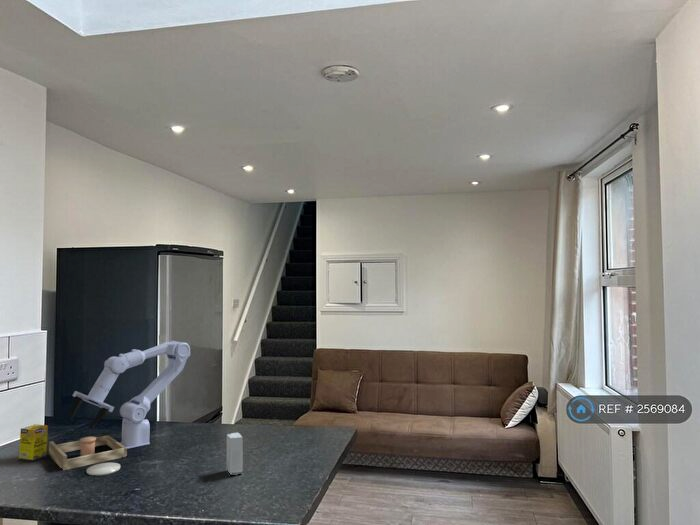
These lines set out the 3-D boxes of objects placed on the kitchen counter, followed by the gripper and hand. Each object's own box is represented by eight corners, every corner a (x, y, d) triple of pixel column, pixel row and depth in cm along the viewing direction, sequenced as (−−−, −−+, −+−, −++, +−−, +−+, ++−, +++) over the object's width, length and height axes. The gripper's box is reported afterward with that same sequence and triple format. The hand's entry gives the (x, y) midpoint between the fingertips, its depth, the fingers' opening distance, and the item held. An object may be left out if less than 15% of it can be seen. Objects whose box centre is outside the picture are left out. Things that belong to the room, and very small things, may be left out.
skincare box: (243, 474, 158) (244, 436, 159) (229, 476, 156) (230, 438, 157) (238, 468, 164) (239, 431, 165) (225, 470, 162) (226, 433, 163)
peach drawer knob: (92, 452, 177) (93, 435, 178) (97, 456, 174) (98, 438, 174) (77, 455, 174) (78, 438, 174) (81, 459, 170) (82, 441, 171)
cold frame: (108, 443, 188) (108, 431, 188) (126, 456, 173) (127, 443, 174) (48, 454, 174) (49, 441, 174) (63, 470, 160) (63, 456, 160)
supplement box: (32, 462, 166) (34, 429, 167) (18, 460, 168) (19, 428, 168) (47, 456, 172) (48, 425, 173) (32, 455, 173) (34, 423, 174)
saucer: (114, 462, 168) (114, 460, 168) (124, 470, 160) (124, 468, 160) (82, 469, 161) (82, 467, 161) (91, 478, 154) (91, 476, 154)
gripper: (81, 378, 174) (58, 415, 168) (119, 394, 176) (98, 431, 170) (84, 380, 180) (62, 415, 174) (121, 396, 182) (101, 431, 177)
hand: (80, 423), depth 173 cm, fingers open, 7 cm apart
